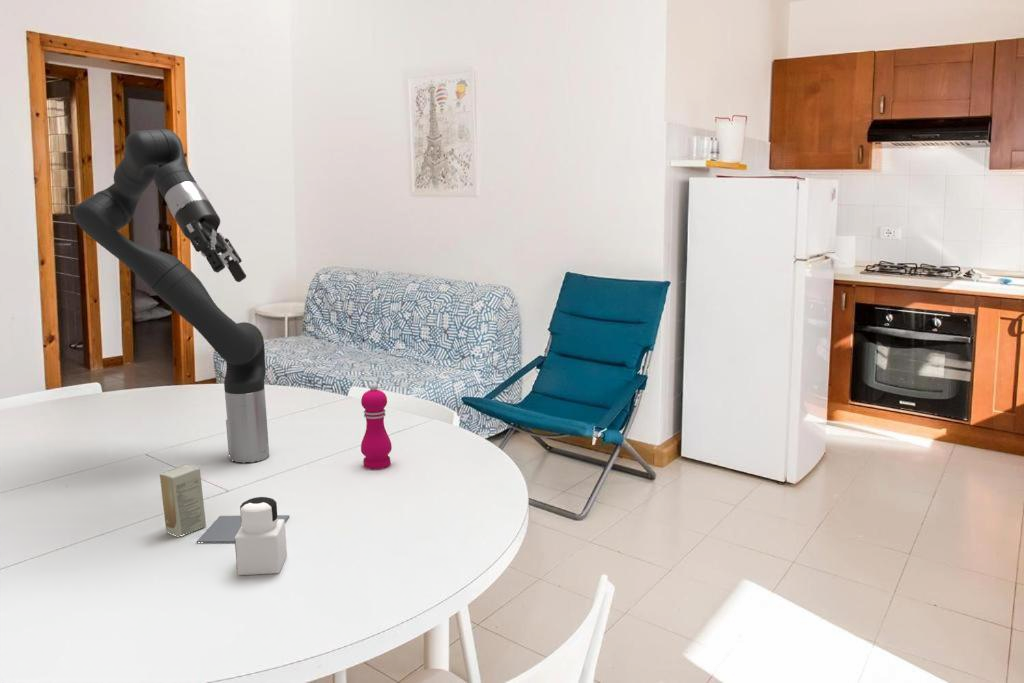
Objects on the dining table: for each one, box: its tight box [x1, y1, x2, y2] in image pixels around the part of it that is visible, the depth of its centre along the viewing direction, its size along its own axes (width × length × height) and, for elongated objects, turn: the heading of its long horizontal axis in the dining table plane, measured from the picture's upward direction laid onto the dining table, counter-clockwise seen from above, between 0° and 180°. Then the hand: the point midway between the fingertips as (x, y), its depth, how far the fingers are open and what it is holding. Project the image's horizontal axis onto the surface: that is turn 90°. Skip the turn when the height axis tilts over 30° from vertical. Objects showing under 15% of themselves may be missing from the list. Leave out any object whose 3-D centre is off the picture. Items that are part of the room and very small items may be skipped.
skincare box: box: [159, 464, 207, 537], centre depth 157 cm, size 6×4×12 cm
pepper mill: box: [360, 383, 393, 470], centre depth 192 cm, size 7×7×20 cm
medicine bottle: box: [234, 496, 288, 576], centre depth 141 cm, size 7×7×12 cm
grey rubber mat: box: [196, 514, 290, 544], centre depth 158 cm, size 14×12×1 cm
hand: (231, 274), depth 158 cm, fingers open, 8 cm apart
